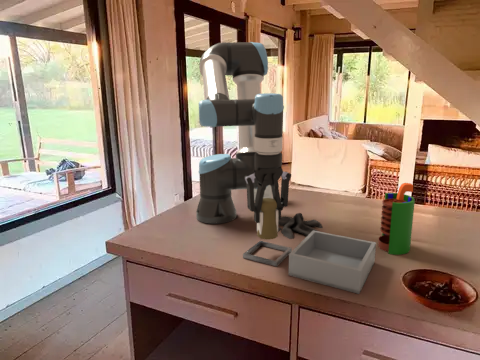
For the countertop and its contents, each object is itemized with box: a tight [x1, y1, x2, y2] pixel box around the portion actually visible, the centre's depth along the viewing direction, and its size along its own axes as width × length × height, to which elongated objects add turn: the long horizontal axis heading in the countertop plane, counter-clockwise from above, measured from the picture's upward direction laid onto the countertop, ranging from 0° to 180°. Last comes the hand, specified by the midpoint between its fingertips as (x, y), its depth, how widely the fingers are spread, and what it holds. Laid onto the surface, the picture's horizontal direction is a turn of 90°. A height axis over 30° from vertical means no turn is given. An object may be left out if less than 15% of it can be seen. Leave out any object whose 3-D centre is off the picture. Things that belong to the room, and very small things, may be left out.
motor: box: [377, 182, 416, 256], centre depth 108 cm, size 10×9×20 cm
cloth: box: [277, 212, 323, 240], centre depth 124 cm, size 22×19×6 cm
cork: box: [256, 198, 279, 240], centre depth 104 cm, size 6×6×11 cm
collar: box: [242, 240, 293, 267], centre depth 106 cm, size 11×11×1 cm
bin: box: [288, 230, 377, 295], centre depth 97 cm, size 18×18×6 cm
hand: (267, 231), depth 105 cm, fingers closed on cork, 4 cm apart
